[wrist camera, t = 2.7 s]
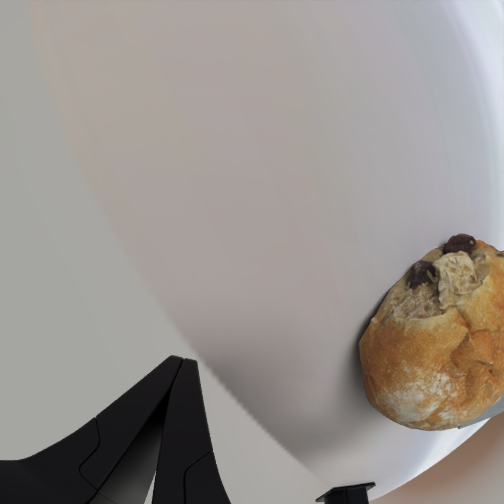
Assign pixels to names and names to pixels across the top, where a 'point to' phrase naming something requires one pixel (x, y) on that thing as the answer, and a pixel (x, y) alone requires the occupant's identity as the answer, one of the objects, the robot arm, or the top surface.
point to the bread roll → (439, 339)
